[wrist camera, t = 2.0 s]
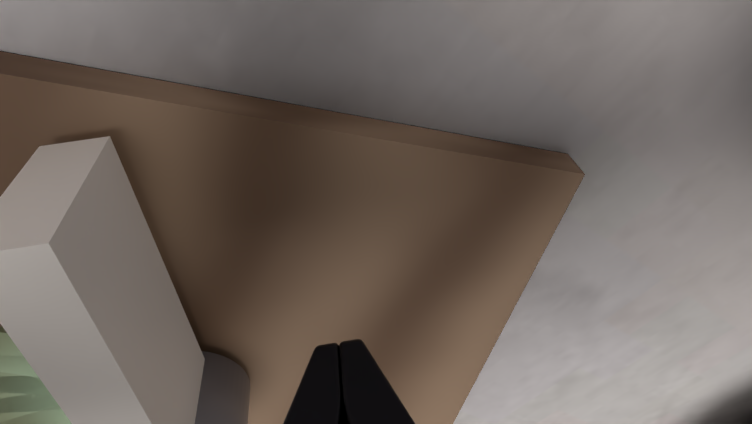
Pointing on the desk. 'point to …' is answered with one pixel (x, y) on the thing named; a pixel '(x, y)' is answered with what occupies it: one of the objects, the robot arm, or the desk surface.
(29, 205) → the pointer
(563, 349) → the desk surface
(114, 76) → the brown wooden board
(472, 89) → the desk surface
